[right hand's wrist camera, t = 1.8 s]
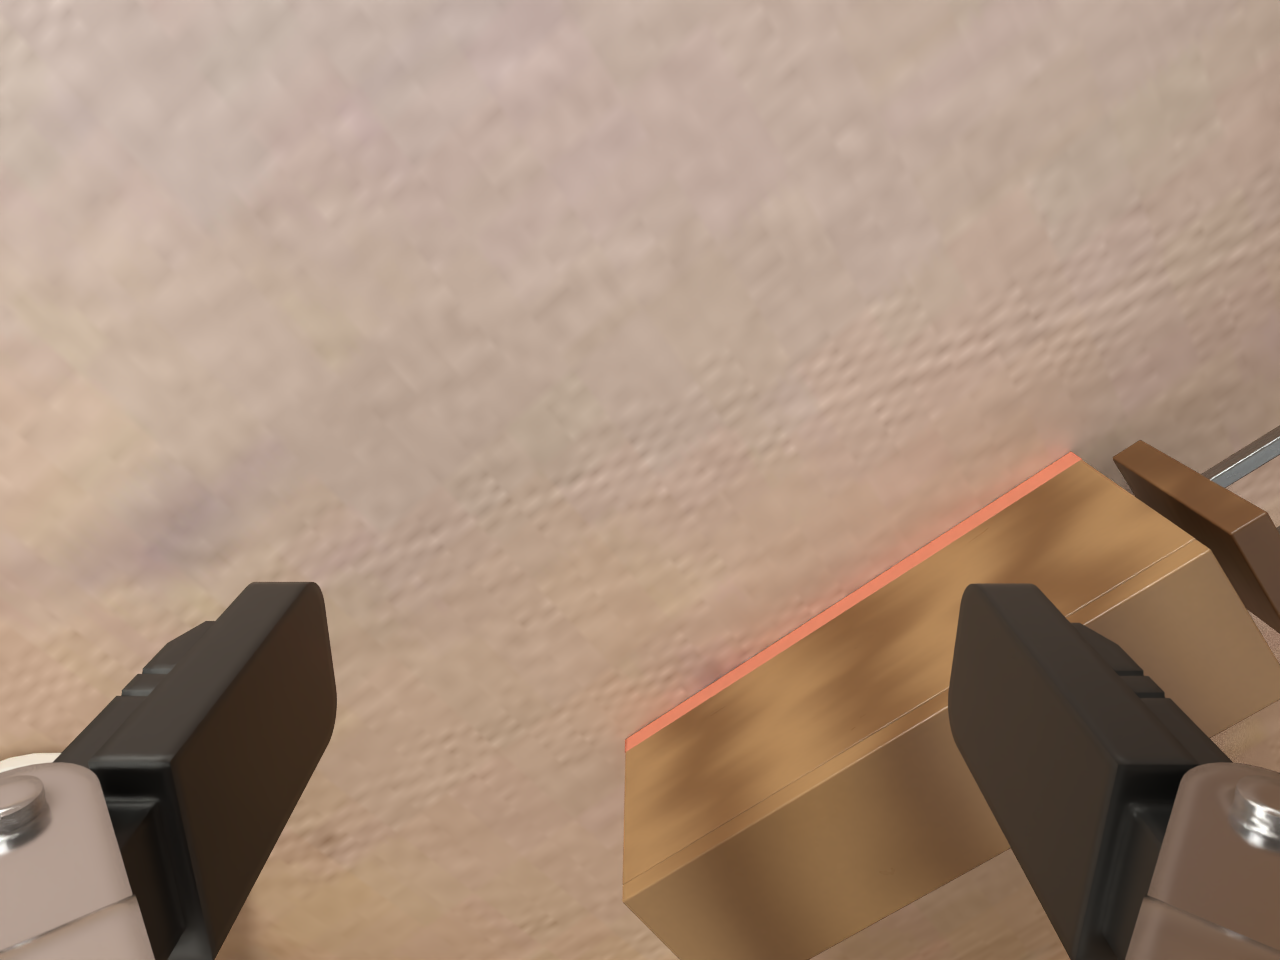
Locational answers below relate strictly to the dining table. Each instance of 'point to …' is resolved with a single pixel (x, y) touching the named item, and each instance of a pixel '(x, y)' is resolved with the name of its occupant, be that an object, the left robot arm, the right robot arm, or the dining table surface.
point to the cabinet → (903, 724)
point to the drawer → (1217, 515)
